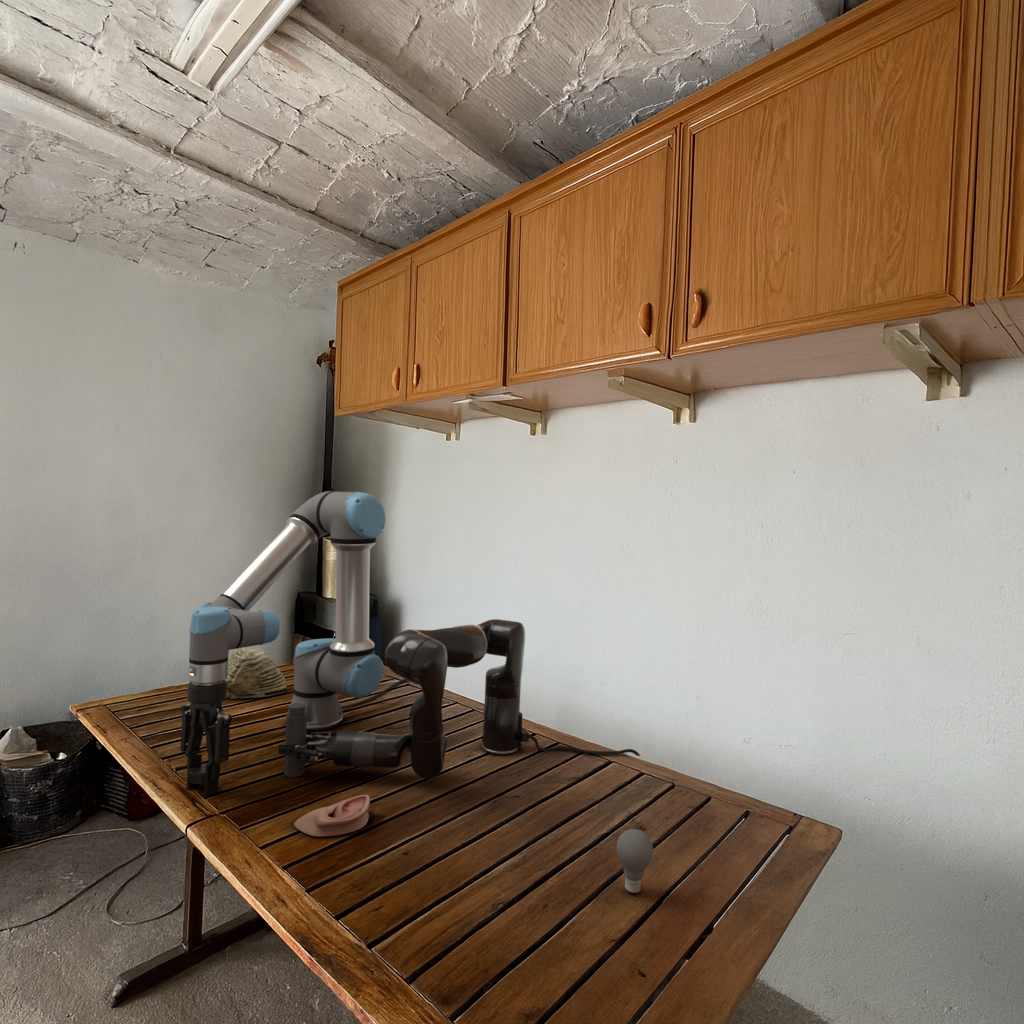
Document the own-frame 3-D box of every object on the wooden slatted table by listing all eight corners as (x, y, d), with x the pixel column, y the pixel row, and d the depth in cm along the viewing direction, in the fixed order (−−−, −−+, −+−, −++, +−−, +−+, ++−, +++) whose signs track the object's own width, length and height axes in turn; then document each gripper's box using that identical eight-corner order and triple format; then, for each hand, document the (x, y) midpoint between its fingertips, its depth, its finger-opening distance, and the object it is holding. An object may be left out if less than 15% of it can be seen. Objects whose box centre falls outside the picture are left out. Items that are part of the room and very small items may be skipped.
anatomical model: (285, 811, 119) (316, 784, 130) (285, 832, 119) (316, 803, 130) (351, 821, 116) (377, 793, 127) (350, 842, 116) (376, 813, 128)
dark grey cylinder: (281, 776, 142) (283, 708, 142) (288, 768, 147) (291, 701, 146) (300, 777, 142) (303, 709, 142) (307, 769, 147) (310, 702, 146)
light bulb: (610, 879, 108) (613, 822, 108) (644, 879, 109) (647, 822, 109) (619, 902, 102) (622, 840, 102) (655, 901, 103) (658, 840, 103)
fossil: (218, 695, 195) (220, 647, 195) (278, 685, 208) (279, 640, 207) (228, 703, 189) (230, 653, 188) (289, 692, 201) (290, 645, 201)
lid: (218, 773, 138) (218, 762, 138) (213, 783, 133) (214, 772, 133) (191, 774, 136) (192, 764, 136) (186, 785, 131) (186, 774, 131)
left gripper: (164, 677, 135) (158, 785, 135) (220, 693, 127) (214, 808, 127) (196, 670, 142) (191, 773, 142) (251, 684, 133) (246, 794, 133)
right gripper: (366, 721, 151) (296, 717, 151) (349, 744, 137) (271, 740, 137) (365, 752, 151) (295, 748, 152) (347, 779, 137) (269, 774, 137)
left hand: (202, 789), depth 134 cm, fingers closed on lid, 5 cm apart
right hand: (284, 744), depth 144 cm, fingers closed on dark grey cylinder, 4 cm apart
